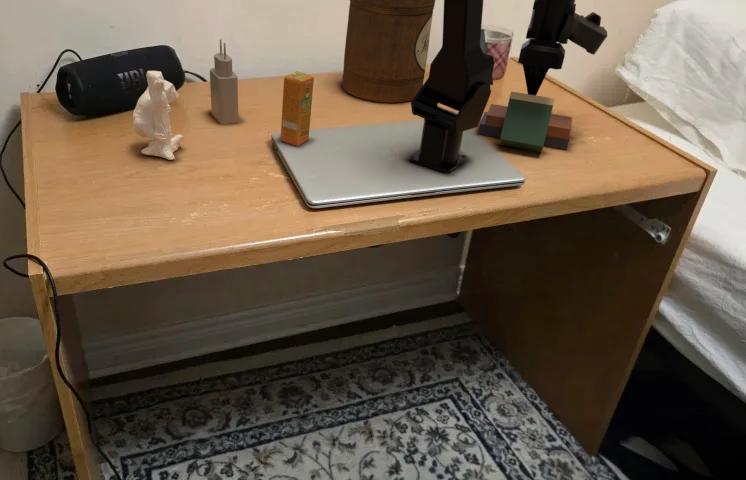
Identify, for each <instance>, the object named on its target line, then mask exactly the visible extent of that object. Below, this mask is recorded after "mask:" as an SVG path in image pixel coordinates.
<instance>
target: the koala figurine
mask: <svg viewBox="0 0 746 480" xmlns="http://www.w3.org/2000/svg"><path fill="white" fill-rule="evenodd" d="M146 81H147V87H146V90H145V91H144V92H143V93H142V94H141V96H140V97H138V100H137V103H136V105H135V108H134V110H133V113H132V127H133V130H134V132H135V133H136V134H137V135H136V136H139V137H141V138H149V139H152V140H151V141H149V142H148V144H147V146H146V147H144V148H142V149H141V154H143V155H147V156H155V157H161V158H164V159H166V160H168V161H173V160H175V159H176V158H175V156H174V153H175V151H178V150H179V145H180V144H181V143H182V141H183V140H184V135H182V134H180V133H177V134H176V135H174V136H173V131H172V127H171V120H170V115H171V114H172V108H171V105H170V103H173V102H175V101H178V99H179V97H180V95H179V93H178V92H177V90H176V87H175V85H174V84H173V83H171V82H170V81H168V80H166V79H164V76H163V72H162V71H159V70H147V72H146Z"/></svg>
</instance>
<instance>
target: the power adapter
mask: <svg viewBox="0 0 746 480" xmlns="http://www.w3.org/2000/svg"><path fill="white" fill-rule="evenodd" d="M222 41H223V40H222V39H221V38H220V39H219V52H217V53H215V54H213V61H214V62H213V63H214V67H212V68H209V86H210V87H209V88H210V108H211V109H210V110H211V115H212V116H213V118H215V120H216V121H217V122H218V124H221V125H228V124H229V125H230V124H236V123H239V82H238V79H239V77H238V75H237V74H236V73H235V72H234V71H233V58H232V57H230V56H229V55H228V54H227V48H226V47H227V46H226V42H222ZM222 43H223V44H222Z"/></svg>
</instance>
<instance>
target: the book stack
mask: <svg viewBox="0 0 746 480" xmlns="http://www.w3.org/2000/svg"><path fill="white" fill-rule="evenodd" d="M507 107H508V105H507V106H506V105H500V104H495V103H491V104H490V105H489V107H488V111H484V112H483V114H482V117H481V119H480V122H479V125H478V131H477V135H481V136H486V137H493V138H498V139H500V136H501V132H502V128H503V124H504V120H505V115H506V111H507ZM572 122H573V117H571V116H566V115H560V114H554V113H551V117H550V121H549V125H548V129H547V134H546V138H545V142H544V146H543V147H547V148H553V149H558V150H559V149H560V150H565V151H567V150H568V146H569V143H570V138H571V132H572V124H573V123H572Z"/></svg>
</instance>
